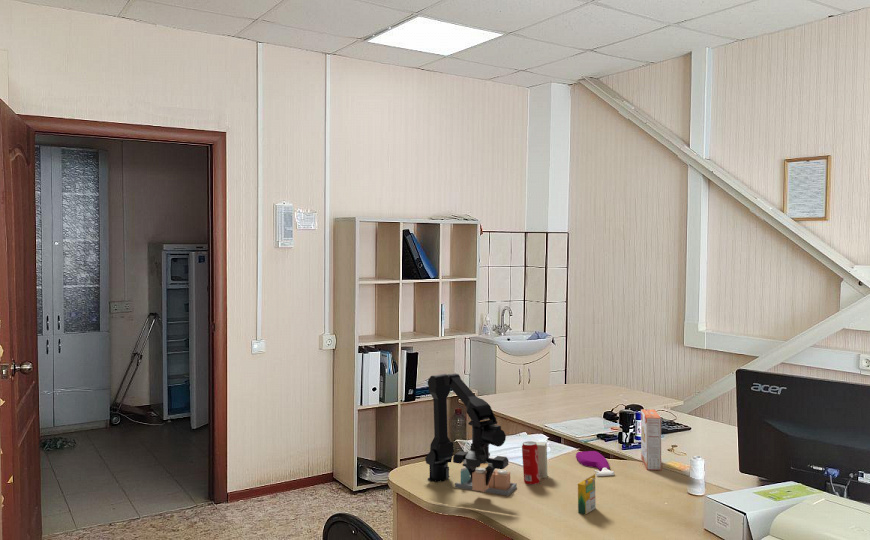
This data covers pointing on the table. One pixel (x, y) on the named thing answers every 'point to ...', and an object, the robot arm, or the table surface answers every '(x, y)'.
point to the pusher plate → (465, 475)
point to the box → (542, 459)
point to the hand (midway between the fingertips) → (480, 484)
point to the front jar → (502, 480)
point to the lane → (490, 490)
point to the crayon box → (586, 495)
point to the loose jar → (479, 480)
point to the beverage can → (530, 463)
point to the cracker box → (651, 439)
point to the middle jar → (492, 480)
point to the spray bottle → (594, 462)
